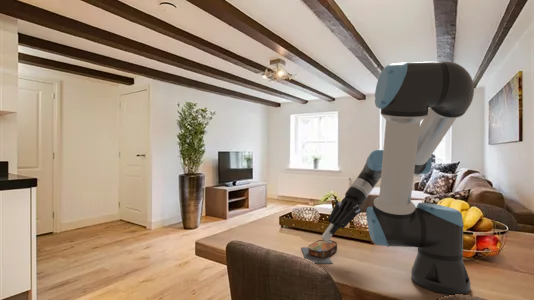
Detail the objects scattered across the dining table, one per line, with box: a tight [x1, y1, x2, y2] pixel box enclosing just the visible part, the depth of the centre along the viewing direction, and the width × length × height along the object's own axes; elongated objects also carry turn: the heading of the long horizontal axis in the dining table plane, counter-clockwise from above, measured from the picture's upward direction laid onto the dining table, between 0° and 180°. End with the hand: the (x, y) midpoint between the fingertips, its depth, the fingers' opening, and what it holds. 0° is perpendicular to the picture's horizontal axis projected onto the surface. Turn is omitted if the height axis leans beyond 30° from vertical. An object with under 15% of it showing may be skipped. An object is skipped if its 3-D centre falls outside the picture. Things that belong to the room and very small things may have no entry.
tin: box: [307, 239, 338, 258], centre depth 110 cm, size 15×3×8 cm
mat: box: [300, 246, 333, 265], centre depth 107 cm, size 16×9×1 cm, turn 0°
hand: (324, 239), depth 105 cm, fingers closed
